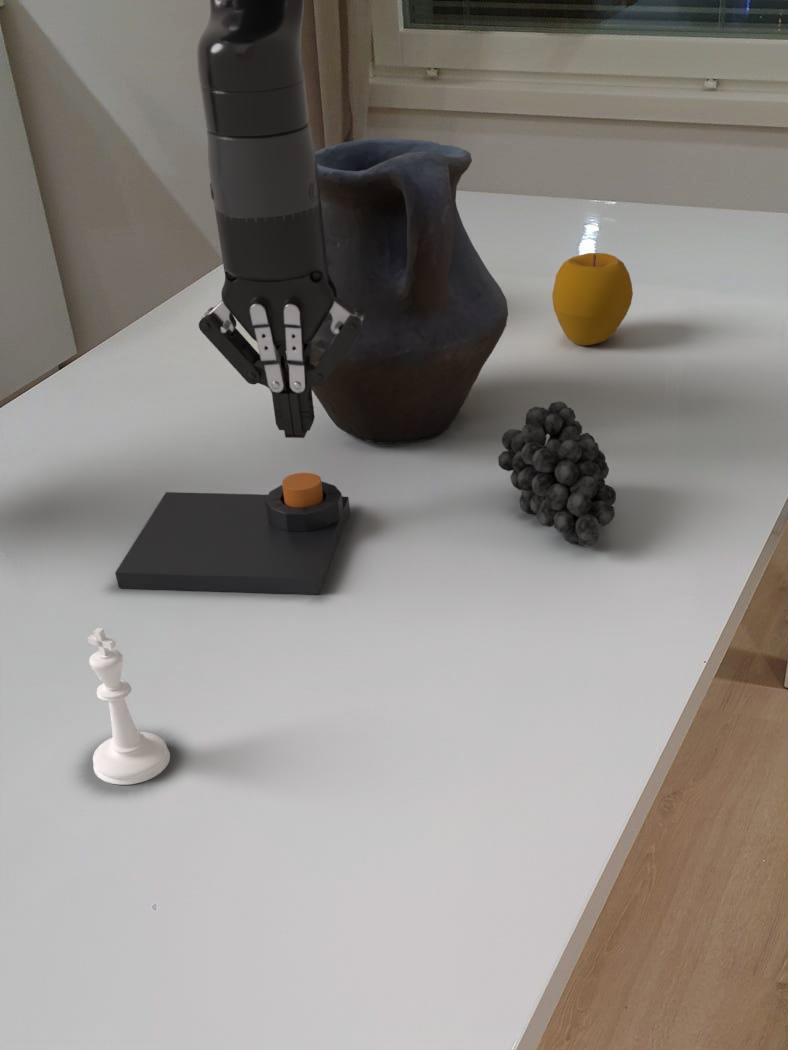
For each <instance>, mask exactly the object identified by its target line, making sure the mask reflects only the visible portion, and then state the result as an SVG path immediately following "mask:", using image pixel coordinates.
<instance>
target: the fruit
mask: <svg viewBox="0 0 788 1050" xmlns="http://www.w3.org/2000/svg"><path fill="white" fill-rule="evenodd" d="M576 419H577V415H576V412H575V410H574V409H573V408H571V407H569V406H568V405H567V404H566V403H565V402H563V401H555V402H551V403H550V405H549V406H548V408H546V407H539V406H533V407H532V408H530V409H528V410H527V412H526V414H525V424H524V425H523V427H522V430H520V429H512V428H511V429H507V431H505V432H503V435H502V437H501V444H502V446H503V448H505V450H504V451H503V450H502V452H501V453H500V454H499V456H498V457H497V460H498V466H499V467H500V468H501V469H502V470H505V471H507V472H511V471H512V472H511V474H510V476H509V478H510V482H511V484H512V486H513V487H514V488H516V489H517V490H519V491H521V495H520V497H519V500H518V502H519V505H520V509H521V510H522V511H523V512H526V513H527V514H535V515H536V518H537V519H538V521H539V523H540V524H541V526H544V527H549V528H551V527H554V529H555V530H556V531H557V532H559V533H560V534H562V537H563V539H564V541H566V542H569V543H571V544H574V543H578V544H579V545H580V546H587V547H590V546H592V545H593V544H595V543H596V542H597V541H598V540H599V537H600V533H599V532H600V528H601V526H603V527H604V526H607V525H609V524H611V523H612V522H613V520H614V518H615V516H616V513H615V507H614V506H613V505H614V504H615V503H616V501H617V491H616V490H615V489H614V487H613V486H611V485H609V484H606V481H605V480H606V479H607V477H608V476H609V472H610V468H609V466H608V465H609V464H608V463H607V461H606V459H607V457H606V455H605V454H604V452H603V451H602V450H600V448H599V443H597V442H596V439H595V438H594V435H592V434H591V433H589V432H584V433H583V425H582V424H581V422H580V421H579V420H576ZM547 435H548V436H549V437H548V438H547Z"/></svg>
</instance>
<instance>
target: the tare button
mask: <svg viewBox="0 0 788 1050" xmlns="http://www.w3.org/2000/svg"><path fill="white" fill-rule="evenodd" d="M321 481H322V478H321V476H319V475H318V474H316V473H314V472H313V473H312V472H296V473H292V474H289V475H287V476H286V477H284V478H283V479H282V481H281V485H282V487H283V494H284V502H285V504H286V505H288V506H291V507H309V506H314V505H317V504H319V503H321V502H322V501H323V491H322V482H321Z"/></svg>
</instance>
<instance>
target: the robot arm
mask: <svg viewBox="0 0 788 1050" xmlns="http://www.w3.org/2000/svg"><path fill="white" fill-rule="evenodd" d="M304 4H305V0H209V17H208V19H209V20H208V22H207V25H206V26H205V28H204V30H203V32H202V34H201V35H200V37H199V40H198V43H197V47H196V60H197V73H198V81H199V87H200V95H201V101H202V102H201V103H202V107H203V109H202V110H203V115H204V121H205V128H206V136H207V162H208V173H209V180H210V183H209V189H210V196H211V200H212V201H213V207H214V212H215V219H216V225H217V232H218V239H219V246H220V253H221V260H222V266H223V273H224V283H223V286H222V288H221V292H220V293H221V294H220V295H221V300H220V301H219V302H218V303H217V304H216V305H215V306H213V307H210V308H208V310H207V311H206V312H205V313H204V314H203V316H202V317H201V319H200V321H199V323H198V328H199V330H200V332H201V333H202V334H203V335H204V337H206V338H207V339H208V341H209V342H210V343H211V344H212V345H213V346H214V348H216V349H217V351H218V352H219V353H220V354H221V355H222V356H223V357H224V358H225V360H226V361H228V363H229V364H230V365H231V366H232V367H233V368H234V369H235V370H236V372H238V374H239V375H240V376H241V377H242V378H243V379H244V380H245V381H246V383H248V384H250V385H258V384H259V385H262V386H265V387H266V388H268V389H269V390H270V393H271V397H272V405H273V411H274V419H275V425H276V427H277V429H278V431H283V432H284V437H285V438H288V439H289V438H291V439H294V438H295V439H305V437H306V435H307V433H308V432H310V430H311V429H312V426H313V425H314V421H315V418H316V417H315V409H314V401H313V399H314V398H313V391H312V390H311V387H312V386H315V385H323V384H325V383H326V381H327V380H328V378H329V377H330V375H331V374H332V372H333V371H334V369H335V368H336V367H337V365H338V364H339V362H340V361H341V359H342V358H343V356H344V355H345V353H346V352H347V350H348V349H349V347H350V346H351V344H352V343H353V341H354V340H355V338H356V337H357V335H358V334H359V332H360V331H361V328H362V326H363V324H364V322H365V320H366V314H365V312H364V311H363V310H362V309H360V308H355V309H351V308H350V307H349V306H347V305H346V304H345V303H344V302H342V301H341V300H340V299H338V298H337V290H336V287H335V285H334V283H333V282H332V280H331V278H330V276H329V273H328V268H327V258H326V248H325V238H324V228H323V218H322V208H321V198H320V188H319V178H318V168H317V160H316V154H315V152H316V149H315V145H314V142H313V137H312V132H311V125H310V117H309V106H308V99H307V98H308V96H307V88H306V78H305V70H304V69H305V68H304V63H303V55H302V30H303V29H302V28H303V20H304V19H303V18H304V8H305V7H304V6H305V5H304ZM329 312H330V314H331V315H332V323H331V326H330V328H331V331H332V333H333V334H334V335H335V337H334V338H333V340H332V341H331V343H330V344H329V346H328V347H327V349H326V350H325V352H324V353H323V355H322V356H321V358H320V360H319V361H318V362H315V363H313V364H311V355H310V353H311V340H312V339H313V338H314V337H315V335H316V333H317V332H318V330H319V328H320V327H321V325H322V323H323V322H324V320H325V318H326V317H327V315H328V313H329ZM237 322H238V323H239V324H240V325H241V327H242V328H243V329H244V330H245V332H246V333H247V334H248V335H249V336H250V337H251V338H252V339H253V341H255V342H256V344H257V349H258V351H257V350H256V349H255V348H254V346H252V344H251V343H250V342H249V341H248V340H247V339H246V338H245V336H244V335H243V334H242V333H241V332H240V331H239V330H238V329H237Z"/></svg>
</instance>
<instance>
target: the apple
mask: <svg viewBox="0 0 788 1050" xmlns="http://www.w3.org/2000/svg"><path fill="white" fill-rule="evenodd" d="M551 294H552V295H551V297H552V299H551V300H552V305H553V310H554V314H555V316H556V319H557V321H558V323H559V325H560V328H561V329H562V331H563V334H564V335H565V336H566V338H567V339H568V340H569V341H570V342H571V343H573V344H575V345H578V346H590V345H592V346H593V345H597V344H600V343H604V342H605V341H607V340H608V339H610V338H611V337H612V335H614V333H615V332H616V331H617V329H619V326H620V325H621V324H622V322H623V321H624V319H625V318H626V315H627V314H628V312H629V310H630V307H631V305H632V300H633V294H634V291H633V284H632V279H631V276H630V273H629V271H628V269H627V267H626V265H625V263H624V262H623V261H622V260H621V259H619V258H618V257H616V256H615V255H612V254H610V253H602V252H587V253H584V254H579V255H576V256H572V257H570V258H568V259H566V260H565V261H564V262H563V263H562V264H561V266H560V267H559V269H558V271H557V272H556V274H555V279H554V284H553V289H552V293H551Z"/></svg>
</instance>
